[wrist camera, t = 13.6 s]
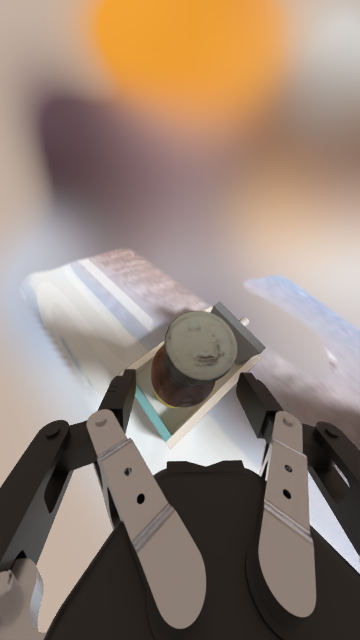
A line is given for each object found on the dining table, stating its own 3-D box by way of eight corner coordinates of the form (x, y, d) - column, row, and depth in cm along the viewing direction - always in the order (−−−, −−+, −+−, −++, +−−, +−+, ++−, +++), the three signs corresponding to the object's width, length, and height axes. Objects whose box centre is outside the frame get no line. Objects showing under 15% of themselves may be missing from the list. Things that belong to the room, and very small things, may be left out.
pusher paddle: (214, 317, 32) (228, 294, 25) (248, 353, 30) (274, 339, 23) (202, 326, 31) (213, 305, 24) (236, 364, 29) (260, 353, 22)
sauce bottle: (184, 415, 25) (243, 451, 7) (146, 396, 26) (111, 387, 8) (200, 372, 28) (269, 322, 10) (165, 356, 28) (171, 282, 10)
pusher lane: (205, 316, 33) (210, 306, 30) (248, 362, 30) (260, 358, 27) (124, 376, 27) (119, 373, 24) (169, 442, 24) (170, 450, 21)
